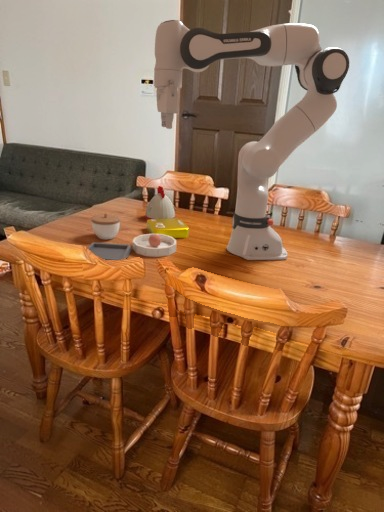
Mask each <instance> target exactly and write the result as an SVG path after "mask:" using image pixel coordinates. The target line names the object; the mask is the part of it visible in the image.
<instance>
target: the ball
mask: <svg viewBox="0 0 384 512" xmlns="http://www.w3.org/2000/svg"><path fill="white" fill-rule="evenodd" d="M160 243H161V238H160V236H159V235H157V234H153V235H151V236H150V237H149V244H150V245H151V246H153V247H157V246H159V245H160Z"/></svg>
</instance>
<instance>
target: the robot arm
mask: <svg viewBox="0 0 384 512" xmlns="http://www.w3.org/2000/svg"><path fill="white" fill-rule="evenodd" d="M154 57H155V64H154V71H153V72H154V75H153V86H154V88H155V89H156V91H155V92H156V106H157V107H156V108H157V112H158V113H160V119H161V120H160V121H161V127H162V128H165V129H168V130H172V129H173V122H174V121H173V120H174V117H175V116H174V114H178V111H179V90H180V89H182V87H183V70H184V69H186V70H189V71H191V72H194V73H202V72H204V71H206V70H207V69H208V68H209V66H210V65H211V64H212V63H215V62H217V61H220V60H232V59H234V60H235V59H249V60H252V61H255V62H256V63H257V64H258V65H259V66H262V67H263V66H264V67H282V66H283V67H284V66H289V65H290V66H294V68H295V73H296V77H297V82H298V84H299V86H300V87H301V88H302V89H303V90H305V91H306V92H305V95H304V96H303V97H302V99H301V100H300V101H299V102H297V103H296V104H294V106H292V107H291V108H290V109H289V110H288V111H286V113H285V114H284V115H282V116H281V117H280V118H279V119H278V120H276V122H274V123H273V125H272V126H271V128H270V129H269V130H268V131H267V132H266V133H265V135H263V137H261V139H259V141H254V140H253V141H249V142H246V143H245V144H244V145H243V146H242V147H241V148H240V150H239V153H238V159H237V162H238V163H237V190H236V203H235V208H234V209H235V211H234V212H233V216H232V223H231V226H232V227H231V228H232V230H231V234H230V238H229V241H228V243H227V246H226V250H227V251H228V252H229V253H231V254H233V255H235V256H238V257H241V258H243V260H244V259H245V260H247V261H258V260H259V261H260V260H261V261H263V260H267V261H268V260H271V261H273V260H275V261H277V260H286V259H287V258H288V251H287V250H286V249H285V247H283V240H282V237H281V236H280V234H278V232H276V230H275V229H273V228H272V227H271V226H273V225H274V220H273V219H272V218H271V217H269V216H268V215H267V208H268V201H269V195H270V194H269V179H270V178H272V177H273V176H274V175H276V173H277V172H278V171H279V168H280V167H281V166H282V165H283V164H284V163H285V161H286V160H287V159H288V158H289V157H290V155H291V154H292V153H293V152H294V151H295V150H296V149H297V148H298V147H299V146H300V145H302V144H303V143H304V142H305V141H307V140H308V139H309V138H310V137H311V136H312V135H314V134H315V133H316V132H317V131H319V129H321V127H322V126H324V125H325V123H327V122H328V121H329V119H330V118H331V117H332V116H333V115H334V113H336V111H337V106H338V103H337V99H336V96H335V93H337V92H338V91H339V90H340V88H341V86H342V83H343V81H344V79H346V77H347V74H348V71H349V69H350V58H349V56H348V54H347V53H346V52H345V50H343V49H342V48H339V47H334V46H333V47H326V48H325V49H323V48H322V47H321V45H320V34H319V30H318V28H317V27H316V26H314V25H312V24H307V23H296V22H295V23H280V24H273V25H269V26H264V27H262V28H259V29H255V30H250V31H245V32H227V33H217V32H214V31H211V30H208V29H206V28H203V27H193V28H191V29H189V28H188V27H187V26H186V25H185V24H184V23H183V22H182V21H181V20H179V19H177V20H176V19H169V20H165V21H163V22H162V21H161V22H160V24H159V25H158V26H157V28H156V31H155V39H154Z"/></svg>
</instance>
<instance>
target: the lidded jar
mask: <svg viewBox="0 0 384 512" xmlns="http://www.w3.org/2000/svg"><path fill="white" fill-rule="evenodd" d="M90 219H91V226H92V230H93V233H94V234H95V235H96V236H97V238H98V239H100V240H107V241H108V240H112V239H114V238H115V237H116V235H118V233H119V231H120V226H121V225H120V223H121V217H120V216H119V215H115V214H112V213H111V214H110V213H109V214H108V213H102V214H101V213H100V214H95V215H93V216H92V217H91V218H90Z"/></svg>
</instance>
